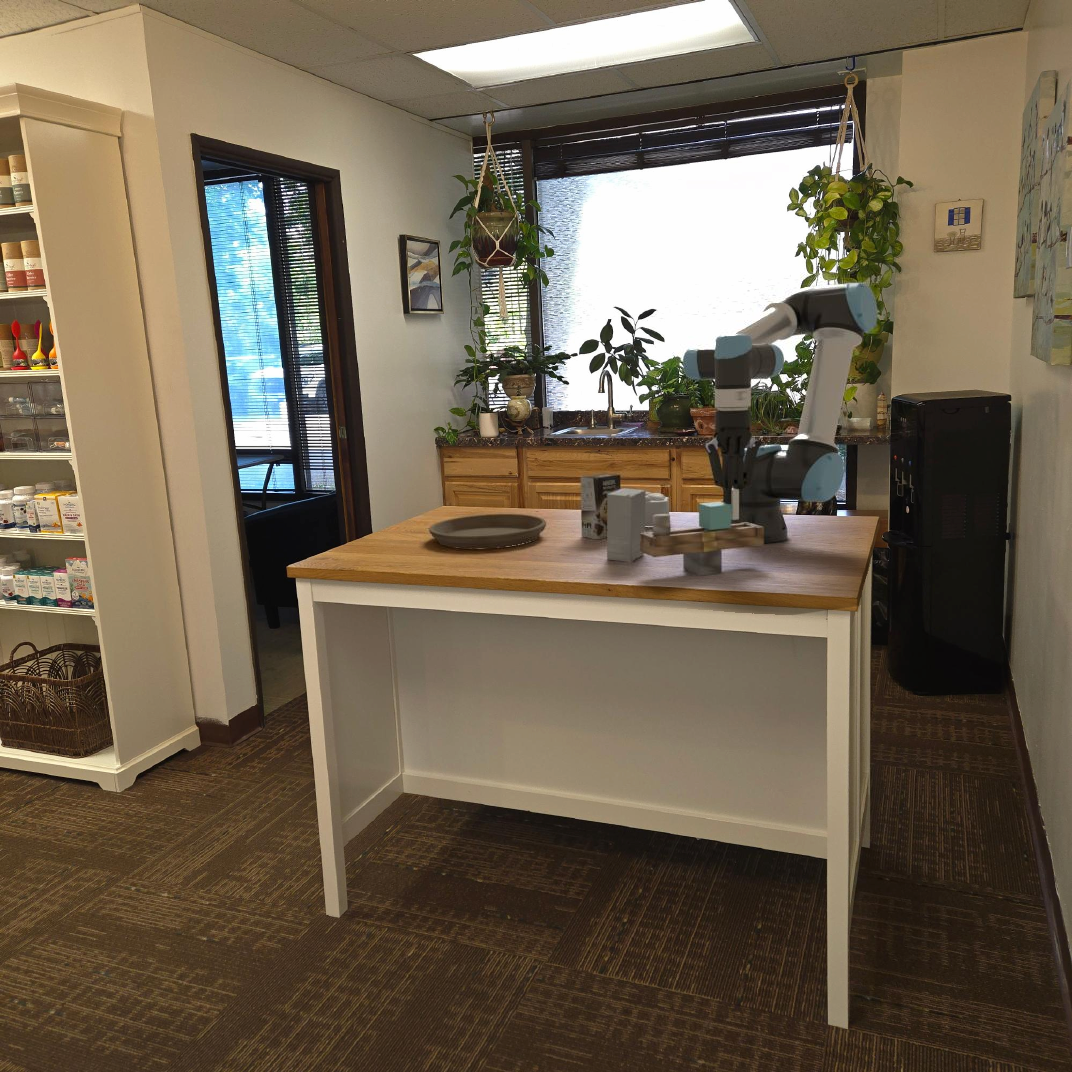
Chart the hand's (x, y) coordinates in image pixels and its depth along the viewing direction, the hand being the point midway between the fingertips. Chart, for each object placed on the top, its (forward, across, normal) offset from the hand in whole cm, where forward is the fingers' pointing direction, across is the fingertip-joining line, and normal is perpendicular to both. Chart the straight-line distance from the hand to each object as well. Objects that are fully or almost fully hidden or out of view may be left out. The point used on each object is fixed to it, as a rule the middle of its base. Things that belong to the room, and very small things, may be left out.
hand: (732, 518), depth 203 cm
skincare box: (+11, -16, +20) cm, 28 cm away
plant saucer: (+11, -39, +59) cm, 72 cm away
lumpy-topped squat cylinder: (+11, +6, +58) cm, 59 cm away
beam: (+11, -7, 0) cm, 13 cm away
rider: (+4, -4, 0) cm, 6 cm away
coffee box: (+11, -11, +48) cm, 51 cm away
